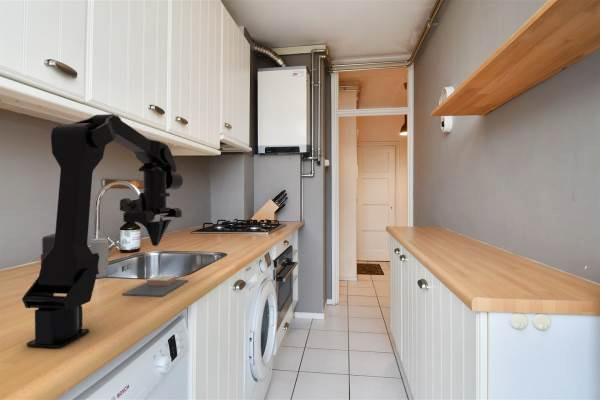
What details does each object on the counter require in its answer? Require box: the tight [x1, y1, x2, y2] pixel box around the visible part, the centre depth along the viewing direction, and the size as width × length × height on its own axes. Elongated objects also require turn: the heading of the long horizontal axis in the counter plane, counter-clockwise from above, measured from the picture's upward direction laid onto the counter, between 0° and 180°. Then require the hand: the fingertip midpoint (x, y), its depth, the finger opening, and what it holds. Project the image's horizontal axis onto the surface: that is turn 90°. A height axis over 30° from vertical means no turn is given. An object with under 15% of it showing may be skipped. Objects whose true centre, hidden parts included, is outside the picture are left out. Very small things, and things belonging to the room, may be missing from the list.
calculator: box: [40, 233, 55, 266], centre depth 86 cm, size 11×4×15 cm, turn 21°
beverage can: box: [89, 237, 110, 279], centre depth 98 cm, size 5×5×12 cm
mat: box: [121, 279, 189, 298], centre depth 86 cm, size 14×11×1 cm
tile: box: [146, 274, 177, 286], centre depth 89 cm, size 2×6×5 cm
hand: (155, 245), depth 85 cm, fingers closed
